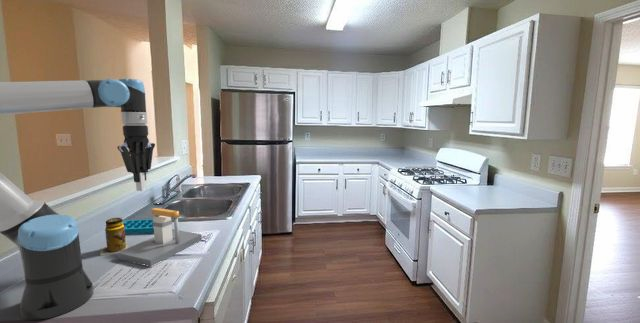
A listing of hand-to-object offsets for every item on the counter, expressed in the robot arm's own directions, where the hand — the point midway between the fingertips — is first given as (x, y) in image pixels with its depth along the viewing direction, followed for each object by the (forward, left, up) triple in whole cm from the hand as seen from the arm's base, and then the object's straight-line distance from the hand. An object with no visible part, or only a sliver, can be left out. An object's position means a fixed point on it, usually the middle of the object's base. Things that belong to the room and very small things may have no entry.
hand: (141, 190), depth 107 cm
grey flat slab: (+5, -2, -24) cm, 25 cm away
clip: (+7, -3, -22) cm, 23 cm away
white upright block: (+7, -1, -24) cm, 25 cm away
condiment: (-2, +15, -25) cm, 29 cm away
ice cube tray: (+17, +23, -25) cm, 38 cm away
